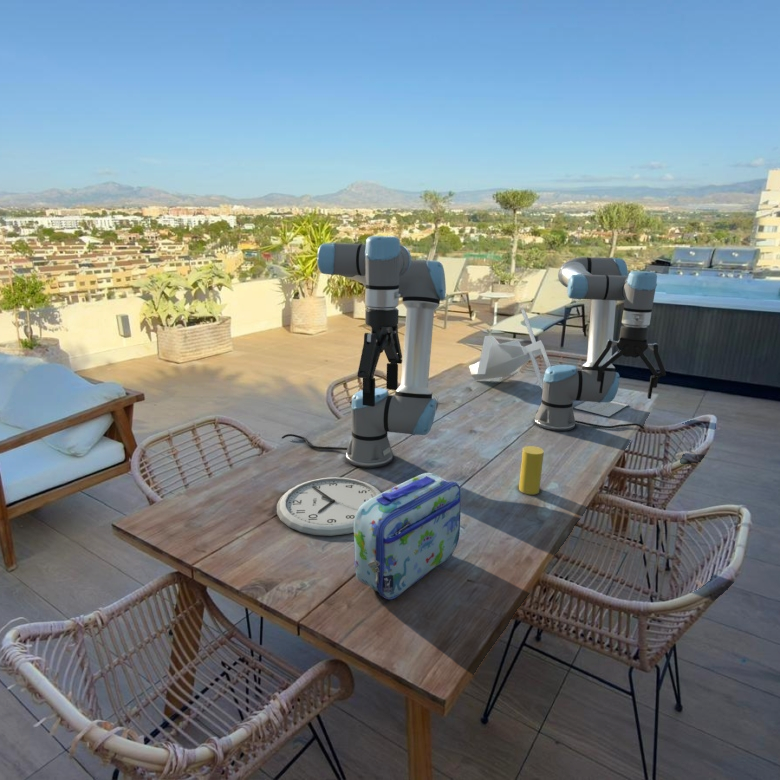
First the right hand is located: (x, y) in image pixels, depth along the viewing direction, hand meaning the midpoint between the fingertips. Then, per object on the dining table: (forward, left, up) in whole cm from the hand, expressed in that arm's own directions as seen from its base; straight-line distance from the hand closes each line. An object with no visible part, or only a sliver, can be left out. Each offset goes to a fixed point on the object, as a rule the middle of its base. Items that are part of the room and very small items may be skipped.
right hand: (624, 394), depth 159 cm
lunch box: (+60, +61, -25) cm, 89 cm away
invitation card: (-13, -64, -25) cm, 70 cm away
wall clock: (+83, +35, -25) cm, 94 cm away
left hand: (+69, +42, +9) cm, 81 cm away
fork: (+60, -53, -25) cm, 84 cm away
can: (+28, +17, -25) cm, 42 cm away
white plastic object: (+24, -87, -25) cm, 94 cm away
